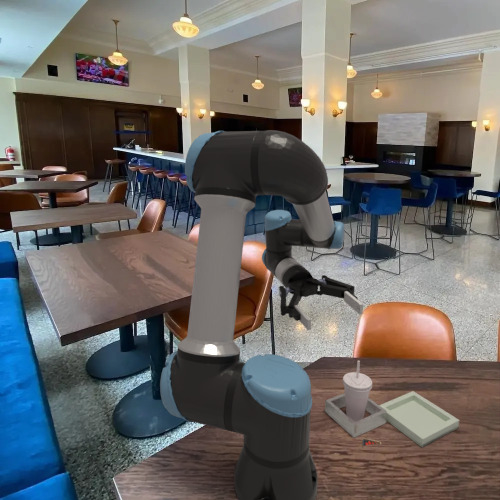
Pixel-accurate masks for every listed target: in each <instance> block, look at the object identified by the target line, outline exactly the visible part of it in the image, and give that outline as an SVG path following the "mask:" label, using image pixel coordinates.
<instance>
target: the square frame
mask: <svg viewBox="0 0 500 500" xmlns="http://www.w3.org/2000/svg"><path fill="white" fill-rule="evenodd" d="M324 404H325V405H324V413H325V414H327V415H328V416H329V417H330V418H331V419H333V420H334V422H335V423H337V424H338V425H339V426H340V427H341V428H342V429H344V430H345V432H347V433H348V434H349V435H350V436H351V437H352V438H357V437H359V436H361V435H363V434H365V433H368V432H369V431H372V430H375V429H376V428H378V427H380V426H383V425H385V424H386V423H387V421H386V419H387V411H386V410H385V409H383V408H382V407H381V406H379V404H377V403H376V402H375V401H374V400H372V398H370V397H368V400H367V405H366V409H365V412H368V413H369V414H370V415H368V416H366V417H364V418H363V419H361V420H359V421H357V422H354V421H353V420H352V419H351V418H349V417H348V416H347V415H346V412H344V411H342V410H341V409H342V408H344V407H345V408H346V402H345V392H344V393H341V394H338V395H336V396H333V397H330V398H328V399H326V400H325V401H324Z"/></svg>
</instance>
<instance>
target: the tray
mask: <svg viewBox="0 0 500 500" xmlns="http://www.w3.org/2000/svg"><path fill="white" fill-rule="evenodd" d="M378 405H379V404H378ZM379 406H381V407H382V408H383V409H385V410H386V411H387V419H386V422H388V423H389V424H390V425H392V427H394V428H396V429H397V430H398V431H399V432H401V433H402V434H404V435H405V436H406V437H407V438H409V439H410V440H411V441H412V442H414V443H415V444H417V445H418V446H419V447H421V448H424V447H426V446H427V445H429V444H432V443H434V442H435V441H436V440H439V439H440V438H442V437H444V436H446V435H448V434H450V433H452V432H454V431H455V430H458V429H459V426H460V419H458V418H457V417H455V416H454V415H452V414H451V413H449V412H447V411H446V410H444V409H443V408H441V407H440V406H438V405H436V404H434V403H433V402H431V401H430V400H428V399H426V398H425V397H423V396H422V395H420V394H418V393H417V392H415V391H414V390H412V391H410V392H407V393H405V394H403V395H400V396H399V397H396V398H393V399H391V400H389V401H386V402H384V403H382V404H380V405H379Z"/></svg>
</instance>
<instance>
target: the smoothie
mask: <svg viewBox="0 0 500 500" xmlns="http://www.w3.org/2000/svg"><path fill="white" fill-rule="evenodd" d="M360 362H361V361H360V360H357V362H356V371H355V372H347V373H345V374H344V375H343V377H342V384H343V386H344V387H343V388H344V393H345V402H346V406H345V414H346V415H347V416H348V417H349V418H351V419H352V420H353V421H354V422H357V421H359V420H361V419H363V418H365V414H366V410H365V409H366V405H367V400H368V398H369V396H370V392H371V390H372V388H373V380H372V379H371V377H369V376H368V375H366V374H364V373H361V372H360V364H361V363H360Z"/></svg>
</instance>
